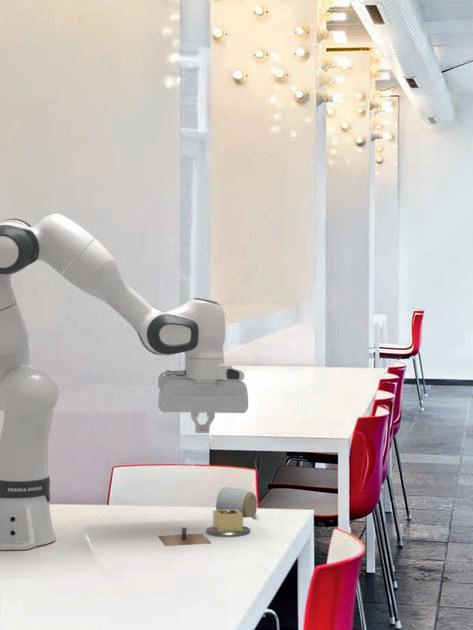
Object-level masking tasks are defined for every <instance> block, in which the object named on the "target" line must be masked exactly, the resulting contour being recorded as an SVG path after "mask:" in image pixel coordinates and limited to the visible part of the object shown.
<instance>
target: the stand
mask: <svg viewBox="0 0 473 630" xmlns="http://www.w3.org/2000/svg"><path fill="white" fill-rule="evenodd" d="M157 537H158V539H160V541H161V542H162V543H163V545H164V547H169V546H171V547H173V546H189V545H191V546H192V545H204V544H205V545H206V544H207V545H208V544H210V545H211V544H212V542H211V541H210V540H209V539H208V538H207V537H206V536H205V534H203V533H187V527H181V534H169V535H167V534H166V535H157Z"/></svg>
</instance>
